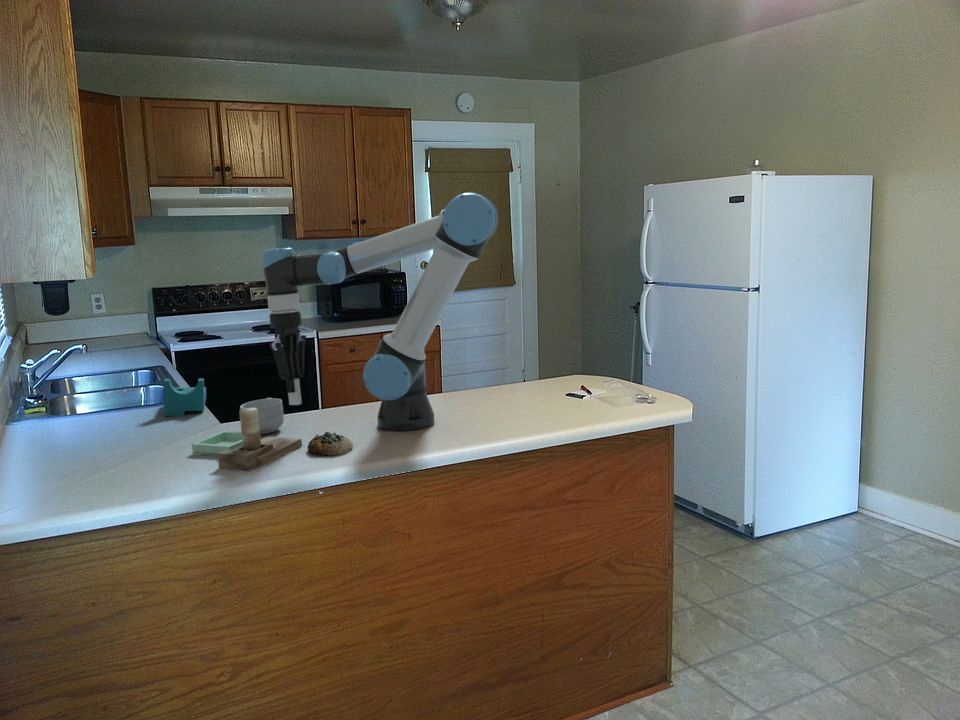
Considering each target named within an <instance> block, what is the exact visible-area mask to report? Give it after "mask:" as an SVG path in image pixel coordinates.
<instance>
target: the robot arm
mask: <svg viewBox="0 0 960 720" xmlns="http://www.w3.org/2000/svg"><path fill="white" fill-rule="evenodd" d="M499 223H500V213H499V209H498V207H497V205H496V204H495V203H494V202H493V200H492V199H490V198H489V197H487V196H485V195H483V194H479V193H477V192H464V193H460V194H458V195H455V197H454V198H452V199H451V200H450V201H449V202H448V204H447V205H446V207H445V208H444V209H442V210H441V211H440V213H439V214H438V215H437V216H433V217H431V218H428V219H425V220H421V221H419V222H415V223H413V224H410V225H406V226H403V227H401V228H398V229H395V230H393V231H389V232H386V233H383V234H380V235H377V236H373V237H371V238H369V239H365V240H362V241H359V242H356V243H353V244H350V245H348V246H343V247H341V248H338V249H335V250H331V251H328V252H321V253H320V252H319V253H309V254H295V252H294V249H293V248H292V247H282V248H281V247H279V248H269V249H265V250H264V251H263V253H262V269H263V270H262V271H263V275H264V281H265V289H266V298H267V304H268V305H267V307H268V311H269V312H270V313H269V323H270V328H271V329H273V330H274V332H275V333H274V339H275V340H274V341H273V342H270V343H269V349H270V351H272V355H273V358H274V362H275V365H276V369H277V372H278V376H279V379H280V380H282V381H285V383H286V384H285V385H286V390H287V391H286V392H287V396H288V397H287V398H288V405H289V406H299V405H302V404H303V402H302V400H303V399H302V394H301V393H302V392H301V381H300V379H301V378H302V379H303V378H304V374H305V355H306V354H305V353H306V352H305V349H306V348H305V347H306V341H307V336H306V335H303V334H301V333H300V328H299V327H300V326H302V323H303V322H302V314H301V311H300V310H299V309H300V308H301V304H300V303H301V302H300V298H299V297H300V296H299V288H298V287H303V286H321V285H328V286H329V285H330V286H331V285H334V284H340V283H341V284H342V282H343V281H344V280H346V279H347V278H349V277H353V276H356V275H358V274H361V273H364V272H367V271H371V270H373V269H376V268H379V267H382V266H386V265H390V264H392V263H395V262H398V261H401V260H405V259H407V258H411V257H413V256H417V255H420V254H422V253H426V252H428V251H432V250H434V251H433V252H432V255H431V257H430V259H429V260H428V262H427V265H426V267H425V269H424V270H423V272H422V274H421V276H420V278H419V280H418V281H417V284H416V286H415V288H414V290H413V291H412V293H411V295H410V298H409V300H408V301H407V303H406V306H405V307H404V309H403V312H402V313H401V315H400V317H399V319H398V321H397V323H396V325H395V327H394V329H393V331H392V332H391V333H388V334H385V335H383V336H382V338H381V340H380V341H379V343H378V344H379V345H378V346H377V347H376V350H375V352H374V353H373V355H372V356H371V357H370V358H369V360H368V361H367V362H366V364H365V366H364V369H363V373H362V378H363V383H364V385H365V388H366V389H367V391H368V392H369V393H370V394H371V395H373V397H375V398H377V399H379V400H381V401H380V407H379V411H378V413H377V427H378V428H380V429H382V430H386V431H396V432H397V431H412V430H420V429H423V428H427V427H430V426H432V425H433V424H435V413H434V410H433V407H432V405H431V403H430V400H429V397H428V395H427V382H426V366H425V365H426V363H425V362H426V361H425V360H426V358H427V356H426V353H425V348H426V346H427V344H428V341H429V340H430V338H431V336H432V334H433V332H434V330H435V328H436V326H437V325H438V323H439V321H440V319H441V316H442V315H443V312H444V311H445V309H446V307H447V305H448V304H449V301H450V299H451V297H452V296H453V294H454V291H455V290H456V288H457V286H458V284H459V282H460V281H461V279H462V277H463V275H464V273H465V272H466V269H467V268H468V265H469V264H470V263H471V262H474V261H477V260H479V258H480V256H481V254H482V252H483V251H484V248H485V247H486V245H487V243H488V241H489V240H490V239H491V238H492V237H493V236H494V234H495V233H496V232H497V230H498V227H499Z"/></svg>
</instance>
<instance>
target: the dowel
mask: <svg viewBox="0 0 960 720" xmlns="http://www.w3.org/2000/svg"><path fill="white" fill-rule="evenodd" d="M239 421H240V428H241V429H240V432H242V440H243V449H244V450H247V451H256V450H258V449H260V448H261V440H260V438H261V434H260V430H259V421H258V412H257V408H245V409H239Z"/></svg>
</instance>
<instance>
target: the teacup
mask: <svg viewBox="0 0 960 720" xmlns="http://www.w3.org/2000/svg"><path fill="white" fill-rule="evenodd" d="M245 408H257V412H258V421H259V430H260V435H266V434H267V433H268V434H271V432H272V433H273V432H274V431H275V432H277V431H278V430H279V429H280V428H281V426H282V425H283V424H284V420H285V415H284V405H283V400H282V399H281V398H277V397H276V398H275V397H274V398H272V397H267V398H263V399H256V400H252V401H248V402H245V403H243V404H241V405H240V406H239V410H241V409H245ZM268 434H267V435H268Z"/></svg>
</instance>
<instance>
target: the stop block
mask: <svg viewBox="0 0 960 720" xmlns="http://www.w3.org/2000/svg"><path fill="white" fill-rule="evenodd" d="M217 454H218V456H217V462H218V469H222V470H223V469H225V470H233V471H234V470H235V471H236V470H237V471H248V472H249V471H251V470H253V469H255V468H257V463H256V452H253V451H239V450H224V451H222V452H219V453H217Z"/></svg>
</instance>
